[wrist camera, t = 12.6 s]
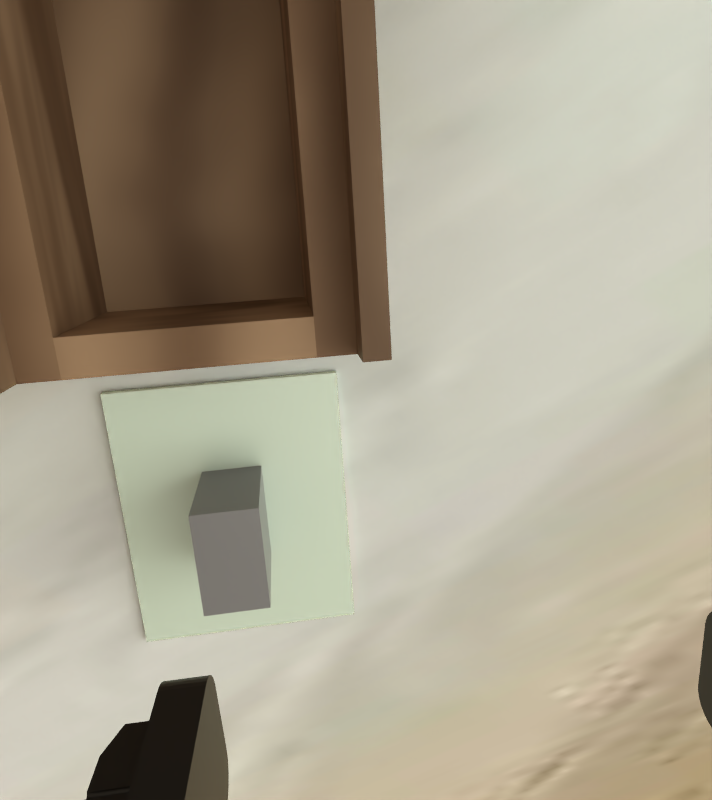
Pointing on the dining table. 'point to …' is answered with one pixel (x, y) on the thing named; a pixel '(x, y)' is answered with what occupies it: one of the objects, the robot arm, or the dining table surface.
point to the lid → (233, 502)
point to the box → (188, 186)
